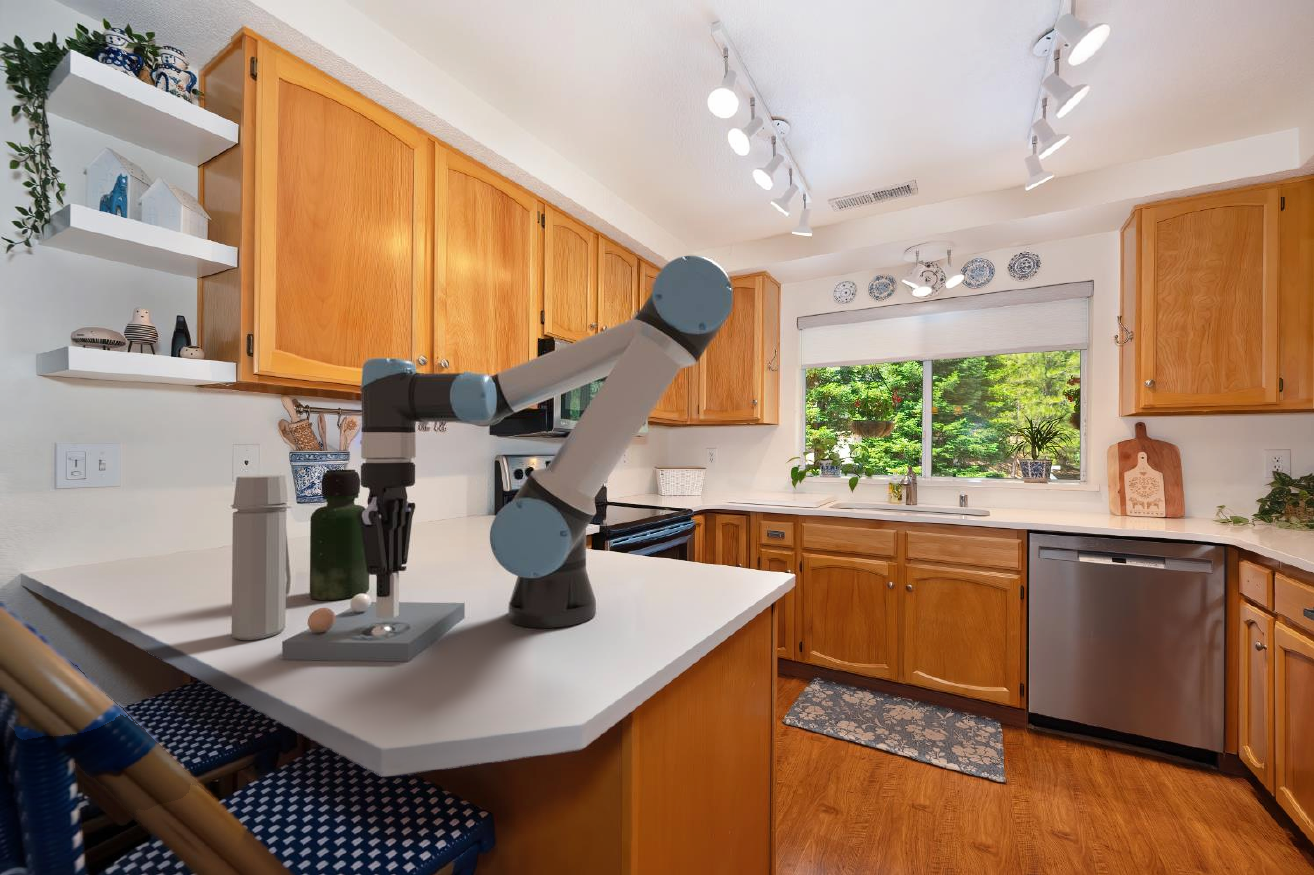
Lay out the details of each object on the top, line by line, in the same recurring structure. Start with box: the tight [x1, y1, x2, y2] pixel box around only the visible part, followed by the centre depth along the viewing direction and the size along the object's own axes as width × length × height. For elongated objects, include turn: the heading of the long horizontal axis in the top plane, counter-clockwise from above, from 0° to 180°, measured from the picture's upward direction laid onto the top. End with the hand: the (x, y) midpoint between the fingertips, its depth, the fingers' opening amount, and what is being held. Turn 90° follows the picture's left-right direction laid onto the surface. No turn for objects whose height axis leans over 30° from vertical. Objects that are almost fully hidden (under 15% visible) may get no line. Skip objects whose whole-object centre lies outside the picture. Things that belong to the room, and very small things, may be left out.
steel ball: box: [370, 624, 393, 636], centre depth 83 cm, size 3×3×3 cm
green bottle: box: [309, 469, 370, 601], centre depth 113 cm, size 10×10×25 cm
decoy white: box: [350, 593, 372, 613], centre depth 92 cm, size 3×3×3 cm
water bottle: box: [230, 474, 292, 641], centre depth 90 cm, size 9×8×25 cm
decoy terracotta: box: [307, 607, 336, 633], centre depth 82 cm, size 4×4×4 cm
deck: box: [281, 601, 466, 663], centre depth 88 cm, size 18×20×2 cm
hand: (387, 616), depth 85 cm, fingers closed
